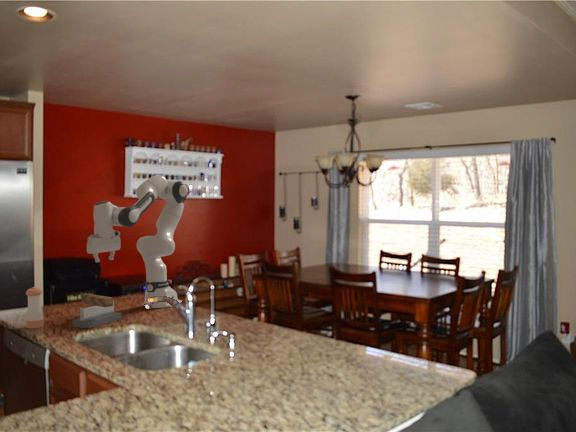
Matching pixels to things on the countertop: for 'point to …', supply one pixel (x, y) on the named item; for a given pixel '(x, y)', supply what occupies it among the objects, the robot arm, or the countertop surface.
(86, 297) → the walnut rod
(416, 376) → the countertop surface
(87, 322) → the ridge stand
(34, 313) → the pepper shaker
